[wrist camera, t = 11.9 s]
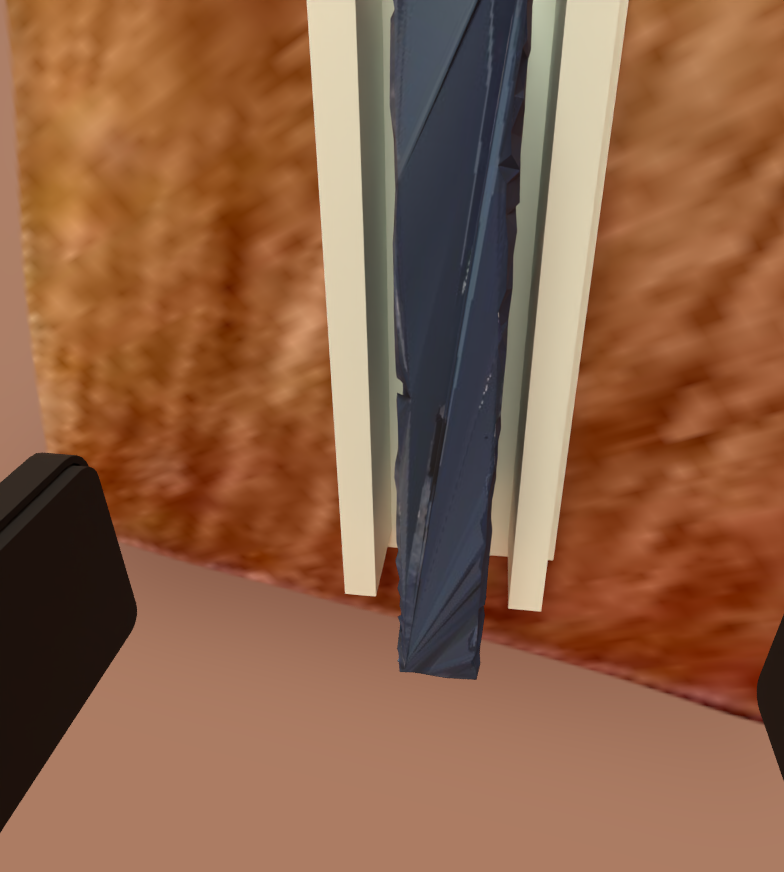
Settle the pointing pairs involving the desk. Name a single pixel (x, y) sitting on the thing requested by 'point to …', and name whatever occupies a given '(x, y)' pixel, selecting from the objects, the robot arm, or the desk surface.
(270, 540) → the desk surface
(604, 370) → the desk surface
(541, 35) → the rack
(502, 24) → the vhs cassette tape
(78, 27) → the desk surface
